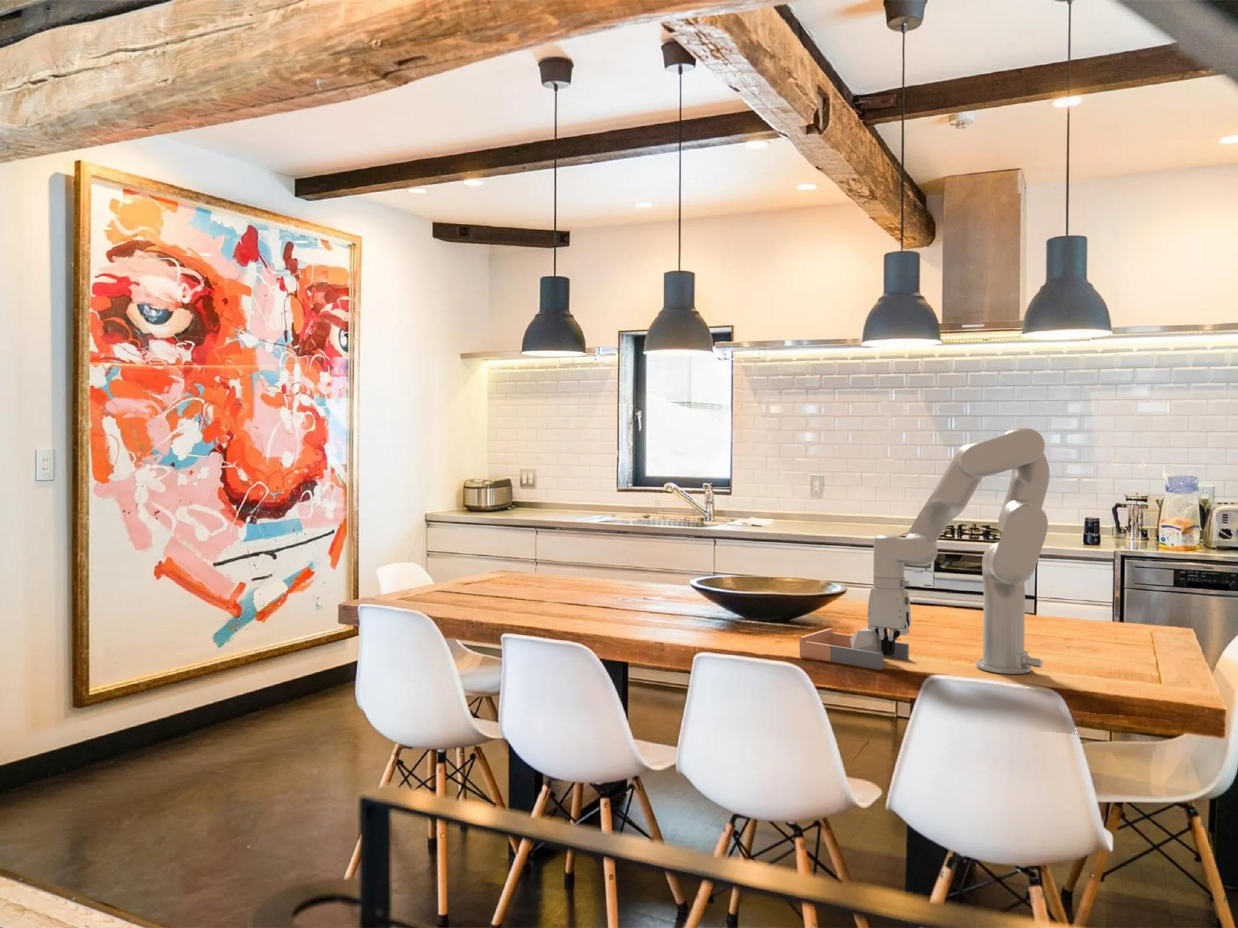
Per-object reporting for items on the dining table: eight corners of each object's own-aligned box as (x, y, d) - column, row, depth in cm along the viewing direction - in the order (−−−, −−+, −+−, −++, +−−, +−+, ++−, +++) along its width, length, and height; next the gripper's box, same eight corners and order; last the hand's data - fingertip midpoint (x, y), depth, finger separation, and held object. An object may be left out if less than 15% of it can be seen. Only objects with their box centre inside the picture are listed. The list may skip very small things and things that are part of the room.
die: (850, 664, 233) (873, 637, 230) (838, 642, 241) (859, 615, 237) (874, 673, 236) (896, 646, 233) (861, 650, 244) (882, 624, 240)
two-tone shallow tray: (908, 659, 237) (908, 640, 237) (881, 670, 225) (881, 650, 225) (829, 646, 252) (829, 628, 252) (799, 655, 240) (799, 637, 240)
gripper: (923, 584, 230) (922, 657, 230) (868, 579, 240) (867, 648, 240) (910, 588, 224) (910, 662, 224) (854, 582, 234) (854, 653, 234)
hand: (888, 654), depth 232 cm, fingers closed
